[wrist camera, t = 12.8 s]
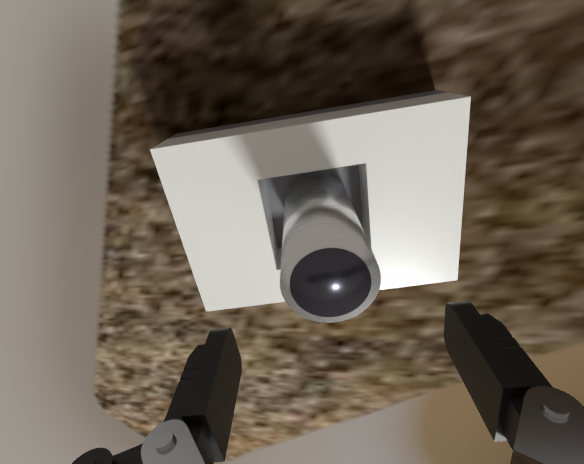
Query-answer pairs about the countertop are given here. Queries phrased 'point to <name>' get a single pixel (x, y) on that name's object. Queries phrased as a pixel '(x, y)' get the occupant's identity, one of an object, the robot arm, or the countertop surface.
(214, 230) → the white slotted plate
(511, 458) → the robot arm
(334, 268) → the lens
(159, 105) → the countertop surface
